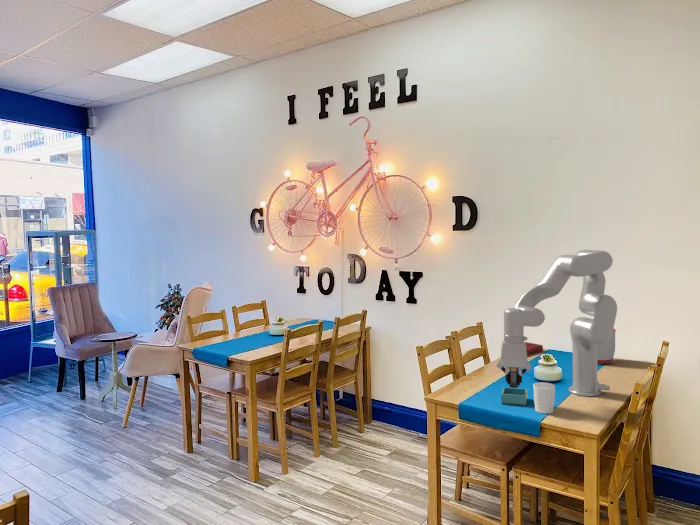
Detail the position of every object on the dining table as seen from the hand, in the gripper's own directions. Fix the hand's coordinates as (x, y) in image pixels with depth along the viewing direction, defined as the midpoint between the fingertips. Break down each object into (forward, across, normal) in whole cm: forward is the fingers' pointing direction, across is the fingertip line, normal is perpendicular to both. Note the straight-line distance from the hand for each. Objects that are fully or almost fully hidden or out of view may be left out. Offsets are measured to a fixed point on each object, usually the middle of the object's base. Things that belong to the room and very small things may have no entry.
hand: (513, 383), depth 212 cm
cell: (+1, 0, 0) cm, 1 cm away
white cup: (+8, -12, +8) cm, 16 cm away
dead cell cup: (+7, 0, 0) cm, 7 cm away
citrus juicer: (+7, -35, -73) cm, 81 cm away
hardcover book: (+8, +2, -84) cm, 85 cm away
